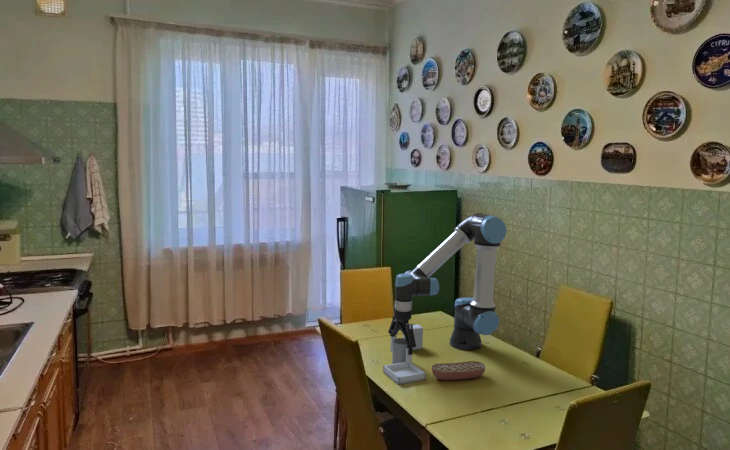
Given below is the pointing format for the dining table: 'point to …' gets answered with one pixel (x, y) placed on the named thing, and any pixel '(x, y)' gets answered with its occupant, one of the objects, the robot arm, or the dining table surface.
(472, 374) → the mitochondrion model
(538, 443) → the dining table surface
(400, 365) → the grey tray
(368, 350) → the dining table surface
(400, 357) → the cup
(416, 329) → the small box
